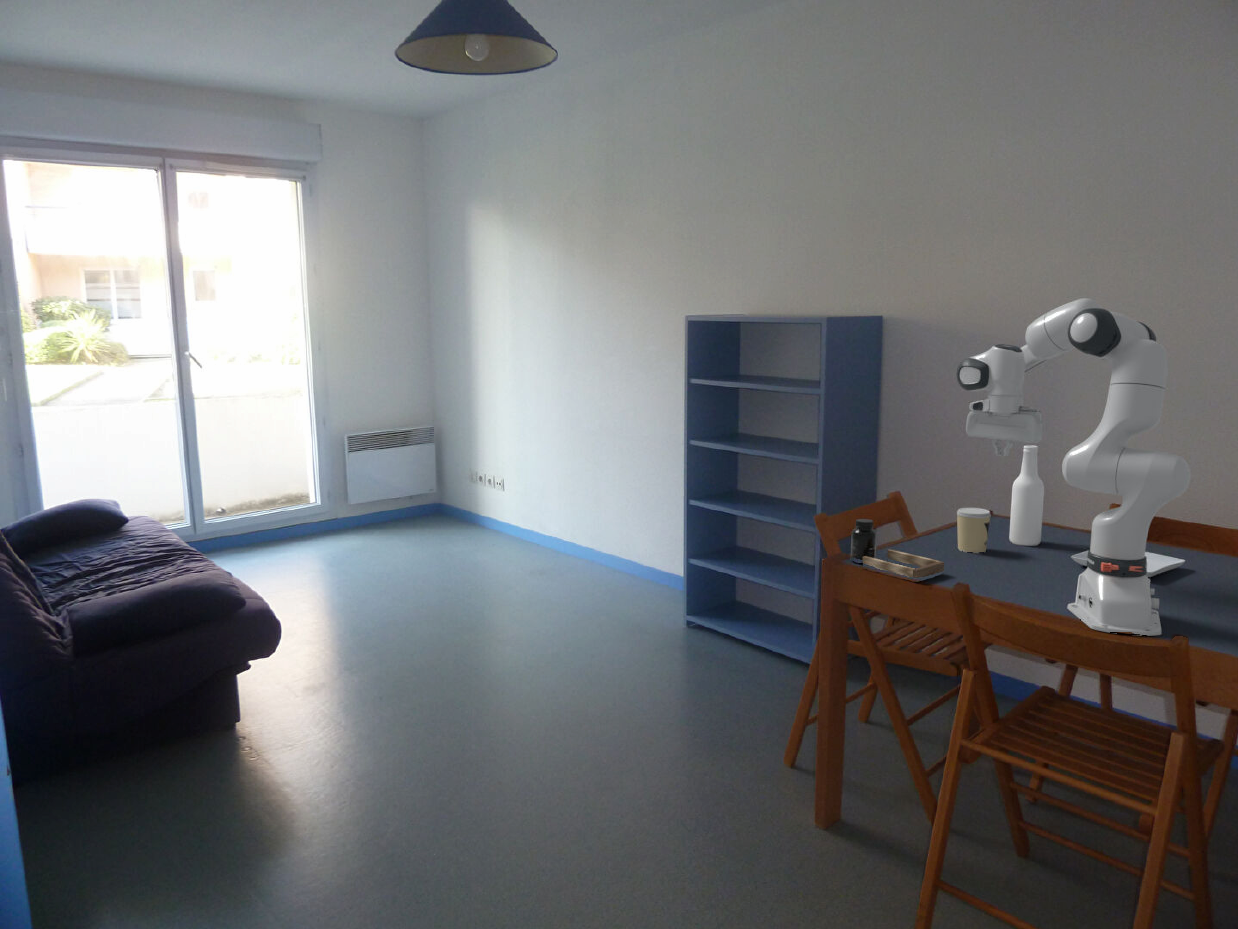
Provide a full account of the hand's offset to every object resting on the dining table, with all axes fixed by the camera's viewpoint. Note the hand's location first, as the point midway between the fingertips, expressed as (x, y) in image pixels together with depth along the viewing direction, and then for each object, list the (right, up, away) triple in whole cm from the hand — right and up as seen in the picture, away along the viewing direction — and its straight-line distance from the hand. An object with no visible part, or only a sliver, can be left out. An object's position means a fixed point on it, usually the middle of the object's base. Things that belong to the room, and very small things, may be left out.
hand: (1001, 455), depth 237 cm
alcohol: (+20, -27, +30) cm, 45 cm away
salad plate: (+35, -31, +2) cm, 47 cm away
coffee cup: (+1, -28, +23) cm, 36 cm away
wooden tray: (-27, -32, +1) cm, 41 cm away
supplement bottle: (-35, -30, +12) cm, 47 cm away
